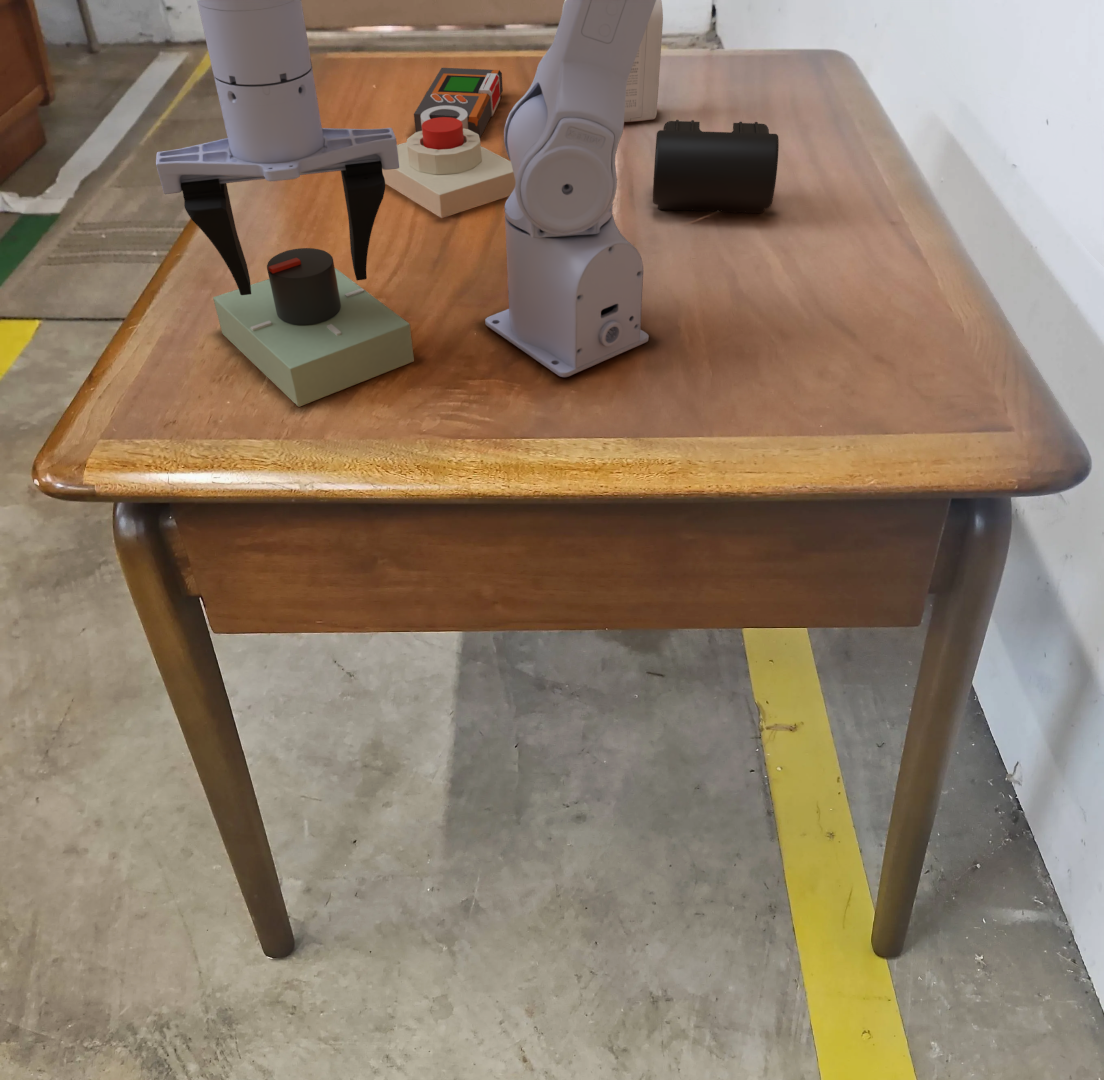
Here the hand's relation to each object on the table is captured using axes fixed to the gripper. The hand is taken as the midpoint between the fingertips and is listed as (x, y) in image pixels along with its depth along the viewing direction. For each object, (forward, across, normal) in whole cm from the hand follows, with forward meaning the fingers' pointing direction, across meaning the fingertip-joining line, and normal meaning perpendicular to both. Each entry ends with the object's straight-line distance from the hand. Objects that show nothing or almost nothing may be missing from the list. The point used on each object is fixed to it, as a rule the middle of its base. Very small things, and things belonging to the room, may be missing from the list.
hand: (303, 280), depth 69 cm
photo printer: (+5, +33, +37) cm, 50 cm away
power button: (+2, +14, +26) cm, 29 cm away
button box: (+5, +14, +26) cm, 30 cm away
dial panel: (+5, 0, 0) cm, 5 cm away
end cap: (+5, +35, +14) cm, 38 cm away
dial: (+2, 0, 0) cm, 2 cm away
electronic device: (+5, +18, +42) cm, 46 cm away
